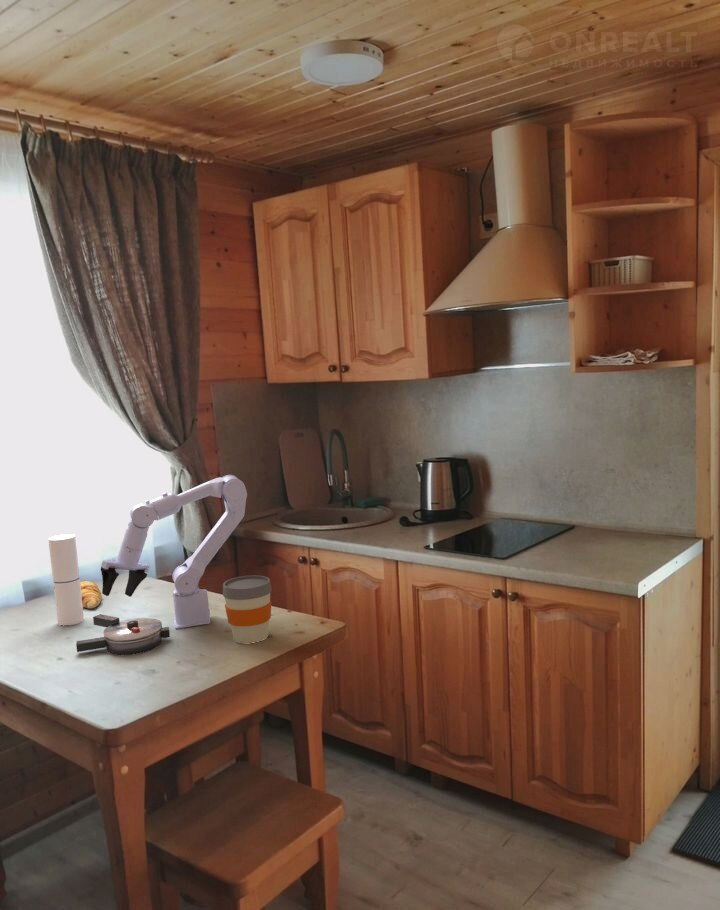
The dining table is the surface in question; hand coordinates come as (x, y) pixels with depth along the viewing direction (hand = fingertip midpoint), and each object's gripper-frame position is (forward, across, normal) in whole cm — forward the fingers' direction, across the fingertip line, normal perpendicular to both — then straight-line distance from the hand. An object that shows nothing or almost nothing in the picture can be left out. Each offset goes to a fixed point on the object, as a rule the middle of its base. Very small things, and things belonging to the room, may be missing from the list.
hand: (116, 595), depth 206 cm
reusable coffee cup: (-2, -16, +36) cm, 40 cm away
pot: (+10, +2, +12) cm, 15 cm away
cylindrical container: (+15, -4, -20) cm, 25 cm away
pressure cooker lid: (+6, +2, +9) cm, 11 cm away
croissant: (+15, -17, -32) cm, 39 cm away
